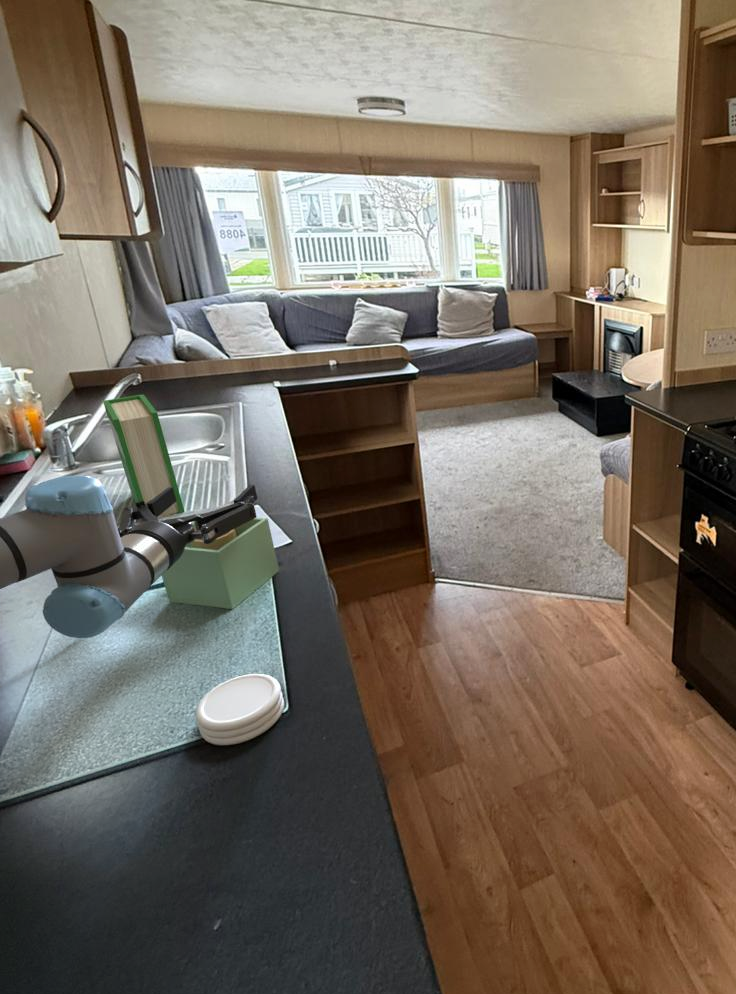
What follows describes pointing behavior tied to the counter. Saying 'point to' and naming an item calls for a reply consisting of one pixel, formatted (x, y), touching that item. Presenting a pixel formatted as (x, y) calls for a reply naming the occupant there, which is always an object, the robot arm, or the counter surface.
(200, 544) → the tan hollow cylinder
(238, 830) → the counter surface
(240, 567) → the bin
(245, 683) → the coaster
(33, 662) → the counter surface
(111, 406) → the hardback book
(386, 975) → the counter surface
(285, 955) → the counter surface
